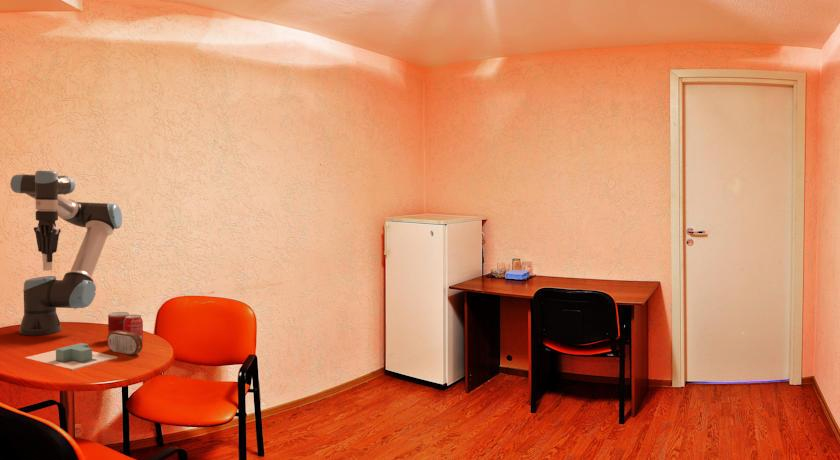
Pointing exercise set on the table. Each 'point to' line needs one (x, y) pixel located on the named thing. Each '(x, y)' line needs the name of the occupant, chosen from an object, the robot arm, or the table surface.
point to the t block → (74, 353)
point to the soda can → (134, 325)
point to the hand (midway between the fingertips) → (47, 270)
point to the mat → (71, 364)
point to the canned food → (116, 321)
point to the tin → (124, 342)
